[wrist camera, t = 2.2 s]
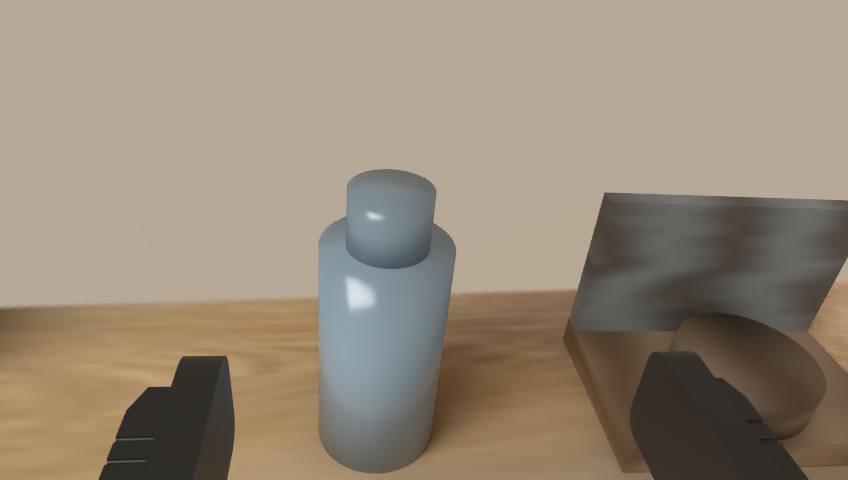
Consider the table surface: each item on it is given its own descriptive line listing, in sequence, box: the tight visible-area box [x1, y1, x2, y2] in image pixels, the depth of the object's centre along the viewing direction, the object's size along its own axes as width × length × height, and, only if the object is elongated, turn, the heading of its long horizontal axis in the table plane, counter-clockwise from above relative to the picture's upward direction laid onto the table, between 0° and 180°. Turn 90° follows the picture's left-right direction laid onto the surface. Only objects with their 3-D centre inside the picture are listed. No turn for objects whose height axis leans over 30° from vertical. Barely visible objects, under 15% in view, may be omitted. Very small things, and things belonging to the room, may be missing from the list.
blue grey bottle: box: [319, 169, 456, 473], centre depth 25 cm, size 5×5×12 cm
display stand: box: [563, 193, 848, 473], centre depth 30 cm, size 14×9×10 cm, turn 96°
